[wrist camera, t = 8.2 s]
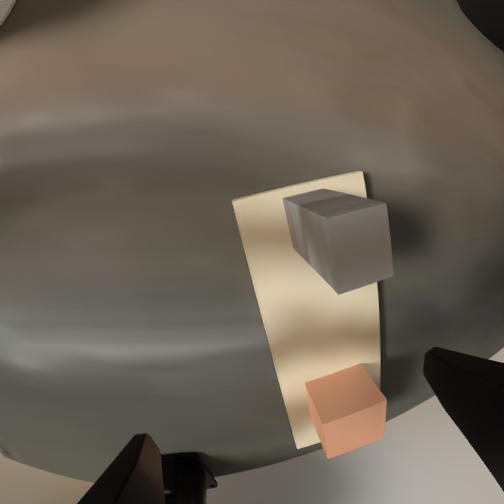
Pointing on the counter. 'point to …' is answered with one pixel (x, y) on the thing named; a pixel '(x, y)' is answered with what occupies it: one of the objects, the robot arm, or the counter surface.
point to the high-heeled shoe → (487, 18)
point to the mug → (5, 9)
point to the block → (346, 410)
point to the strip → (317, 281)
